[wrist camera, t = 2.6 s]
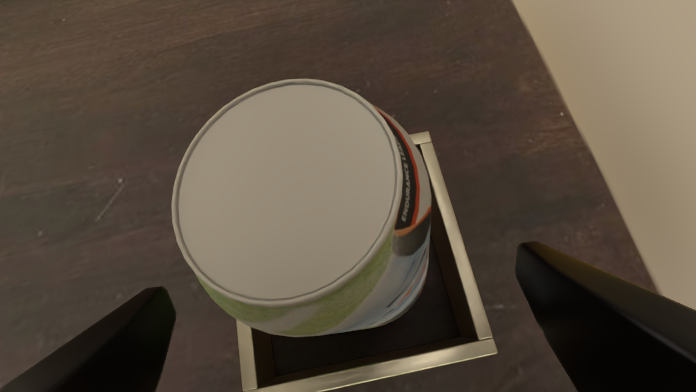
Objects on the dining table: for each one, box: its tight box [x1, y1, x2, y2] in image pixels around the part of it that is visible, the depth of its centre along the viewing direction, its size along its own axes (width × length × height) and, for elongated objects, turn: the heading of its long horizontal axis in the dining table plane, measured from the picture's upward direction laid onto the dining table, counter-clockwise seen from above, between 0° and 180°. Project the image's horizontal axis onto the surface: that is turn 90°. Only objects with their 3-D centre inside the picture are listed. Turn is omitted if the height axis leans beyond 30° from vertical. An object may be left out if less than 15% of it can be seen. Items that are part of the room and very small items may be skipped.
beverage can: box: [172, 79, 432, 337], centre depth 12 cm, size 6×7×12 cm
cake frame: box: [236, 131, 497, 392], centre depth 17 cm, size 10×10×3 cm
